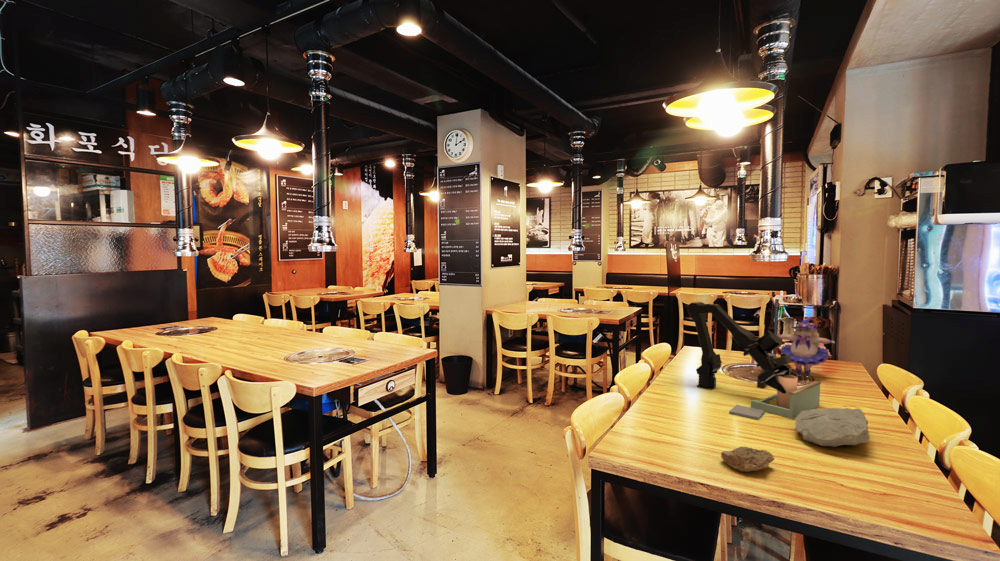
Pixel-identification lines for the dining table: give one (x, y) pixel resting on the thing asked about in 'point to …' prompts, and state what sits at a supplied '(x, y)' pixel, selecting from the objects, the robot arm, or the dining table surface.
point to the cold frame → (793, 401)
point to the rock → (747, 459)
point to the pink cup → (789, 385)
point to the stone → (833, 426)
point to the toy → (805, 347)
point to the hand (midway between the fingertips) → (790, 391)
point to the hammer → (762, 372)
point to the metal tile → (747, 412)
